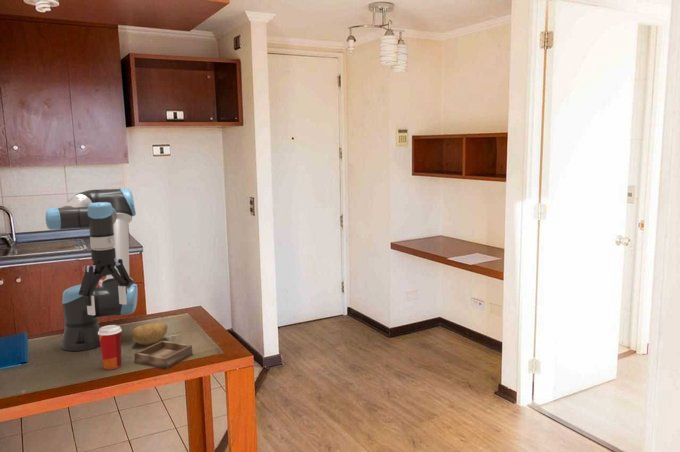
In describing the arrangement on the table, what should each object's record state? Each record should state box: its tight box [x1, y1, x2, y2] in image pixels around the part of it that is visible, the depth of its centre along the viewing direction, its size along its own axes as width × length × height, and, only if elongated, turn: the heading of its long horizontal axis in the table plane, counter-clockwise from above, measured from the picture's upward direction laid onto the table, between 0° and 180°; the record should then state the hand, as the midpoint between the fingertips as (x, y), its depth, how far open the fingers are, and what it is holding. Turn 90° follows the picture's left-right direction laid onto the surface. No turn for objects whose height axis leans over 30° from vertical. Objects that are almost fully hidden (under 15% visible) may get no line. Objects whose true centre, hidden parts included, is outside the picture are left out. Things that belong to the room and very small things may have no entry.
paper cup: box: [98, 324, 123, 371], centre depth 189 cm, size 8×8×14 cm
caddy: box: [134, 340, 193, 370], centre depth 196 cm, size 14×14×4 cm
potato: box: [131, 321, 169, 346], centre depth 212 cm, size 10×14×8 cm
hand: (107, 309), depth 187 cm, fingers open, 13 cm apart
